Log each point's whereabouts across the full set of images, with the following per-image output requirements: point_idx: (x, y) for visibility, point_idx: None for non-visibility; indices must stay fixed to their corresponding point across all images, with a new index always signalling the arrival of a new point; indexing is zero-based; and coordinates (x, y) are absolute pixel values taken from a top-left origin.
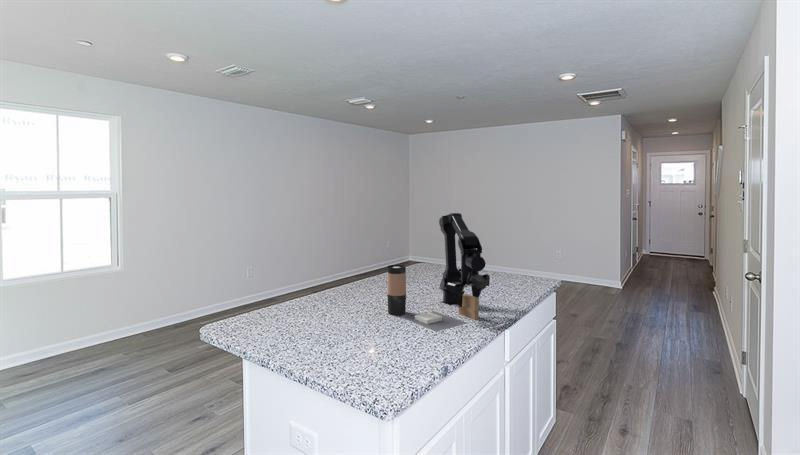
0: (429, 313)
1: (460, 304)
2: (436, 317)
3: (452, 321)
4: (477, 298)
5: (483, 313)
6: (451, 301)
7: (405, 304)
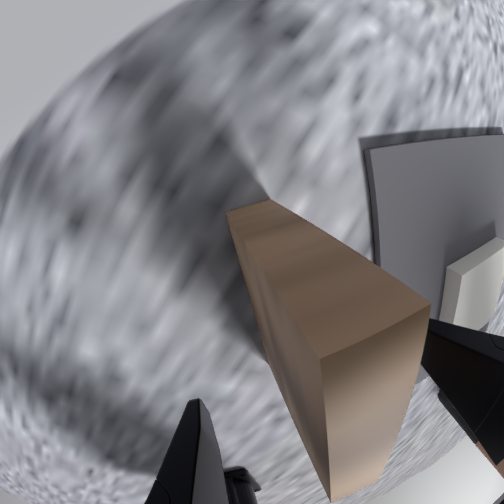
0: None
1: (437, 325)
2: (479, 269)
3: (424, 229)
4: (359, 331)
5: (104, 353)
6: (234, 487)
7: None
